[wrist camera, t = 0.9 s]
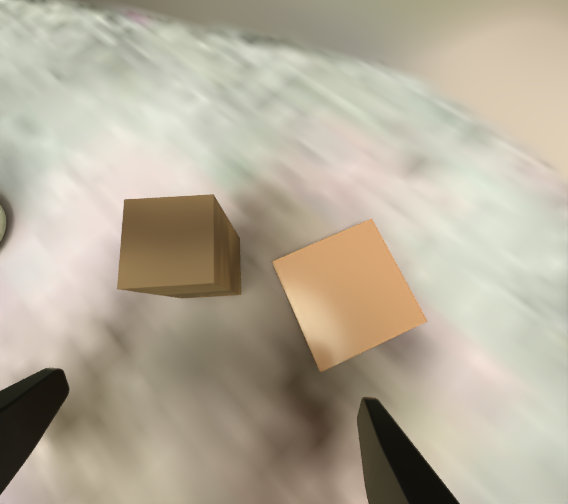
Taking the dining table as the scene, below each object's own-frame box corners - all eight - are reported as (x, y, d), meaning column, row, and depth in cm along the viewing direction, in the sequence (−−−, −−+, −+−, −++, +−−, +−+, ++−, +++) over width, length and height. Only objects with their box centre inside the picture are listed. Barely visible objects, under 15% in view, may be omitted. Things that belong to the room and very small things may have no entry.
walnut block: (241, 294, 22) (213, 283, 14) (182, 298, 22) (117, 289, 14) (239, 238, 24) (213, 194, 15) (183, 241, 24) (124, 199, 15)
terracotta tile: (316, 365, 22) (320, 372, 19) (273, 266, 23) (272, 261, 21) (411, 320, 22) (427, 321, 20) (363, 228, 24) (371, 218, 22)
